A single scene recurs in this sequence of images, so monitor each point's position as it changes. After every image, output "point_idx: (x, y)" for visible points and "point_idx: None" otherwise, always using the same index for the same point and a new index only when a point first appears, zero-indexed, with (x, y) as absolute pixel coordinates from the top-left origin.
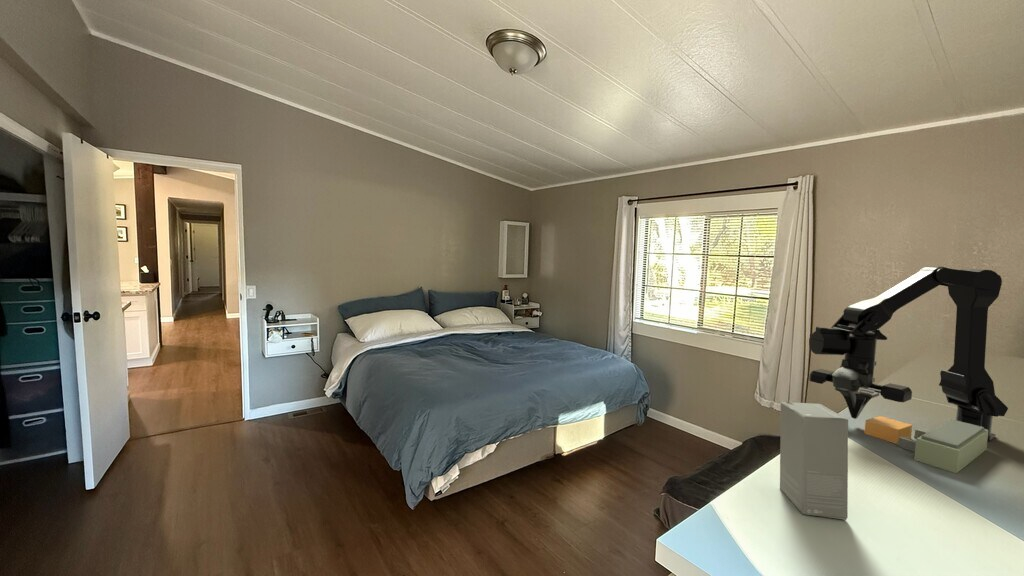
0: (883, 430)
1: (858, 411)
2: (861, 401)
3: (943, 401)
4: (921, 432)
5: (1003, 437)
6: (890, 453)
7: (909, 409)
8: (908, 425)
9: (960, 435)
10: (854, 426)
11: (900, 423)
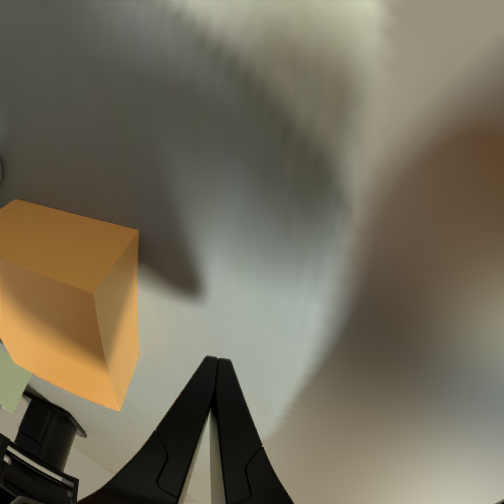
0: (25, 238)
1: (175, 400)
2: (130, 483)
3: None
4: None
5: None
6: (11, 12)
7: None
8: (8, 348)
9: None
10: (216, 315)
11: (26, 357)
